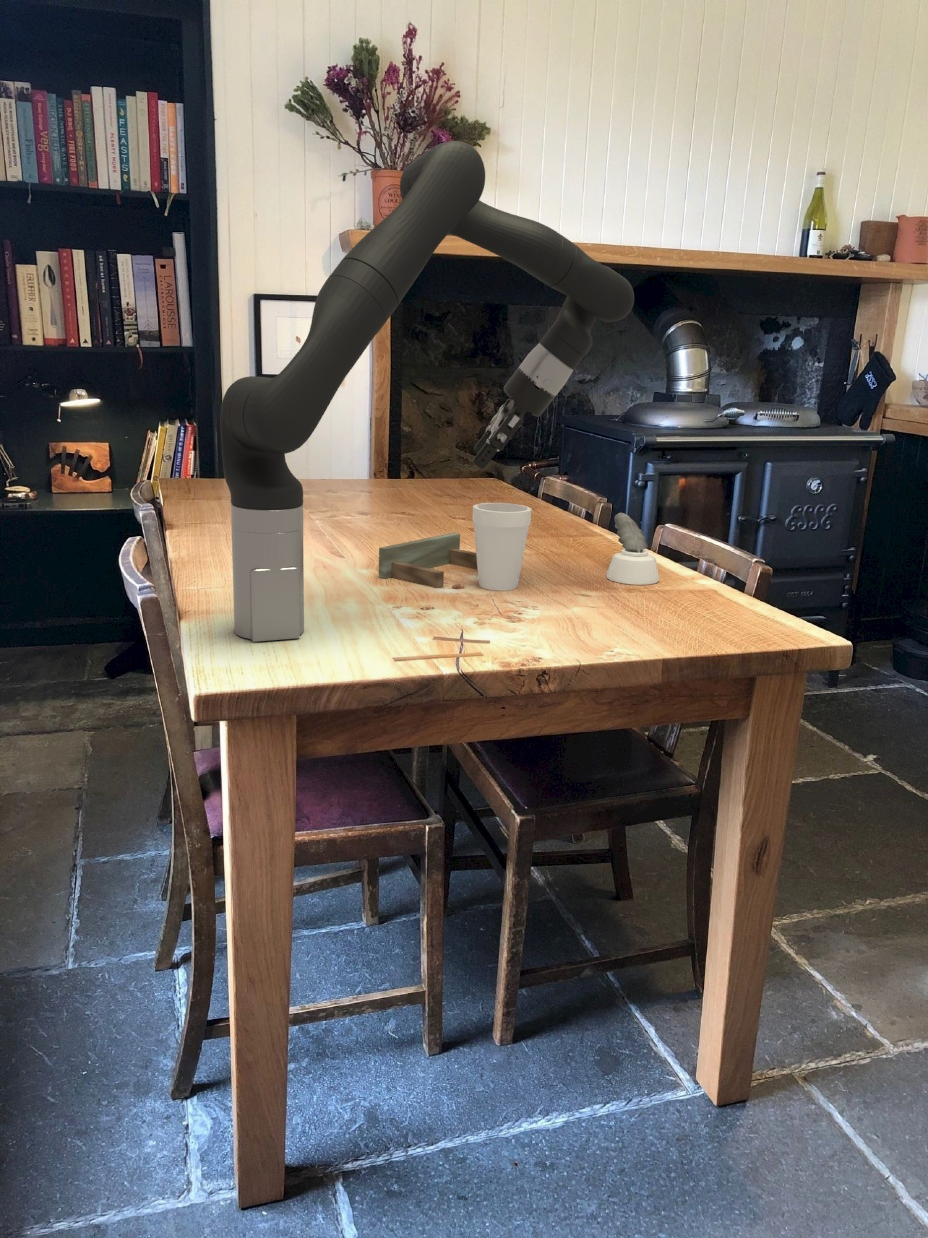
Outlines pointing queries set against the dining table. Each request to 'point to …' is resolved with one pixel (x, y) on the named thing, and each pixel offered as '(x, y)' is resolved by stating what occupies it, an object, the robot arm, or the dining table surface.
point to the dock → (424, 559)
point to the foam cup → (500, 543)
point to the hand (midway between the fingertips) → (477, 459)
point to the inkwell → (632, 556)
